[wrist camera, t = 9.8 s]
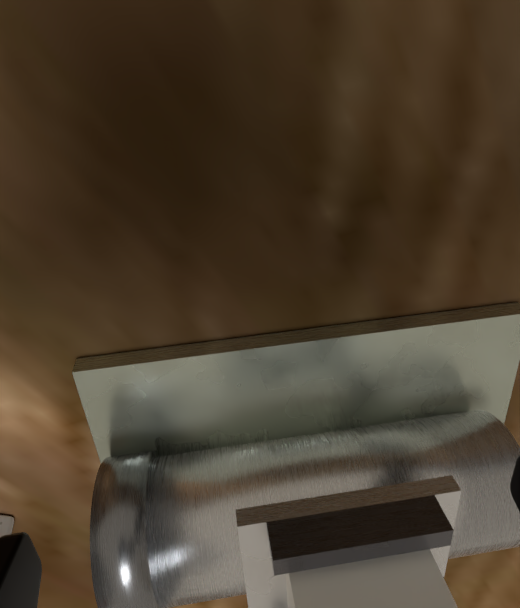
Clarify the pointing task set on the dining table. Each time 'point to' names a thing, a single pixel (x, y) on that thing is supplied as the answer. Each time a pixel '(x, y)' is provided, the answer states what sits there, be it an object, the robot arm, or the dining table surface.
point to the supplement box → (6, 525)
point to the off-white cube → (372, 584)
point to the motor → (299, 454)
